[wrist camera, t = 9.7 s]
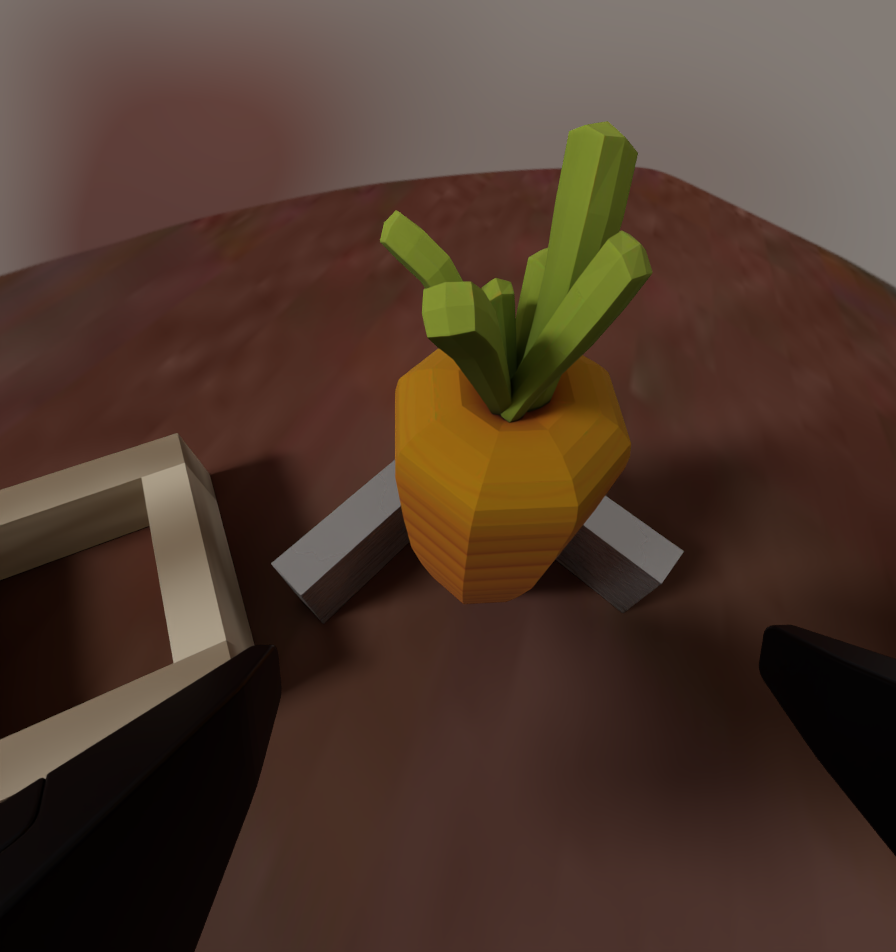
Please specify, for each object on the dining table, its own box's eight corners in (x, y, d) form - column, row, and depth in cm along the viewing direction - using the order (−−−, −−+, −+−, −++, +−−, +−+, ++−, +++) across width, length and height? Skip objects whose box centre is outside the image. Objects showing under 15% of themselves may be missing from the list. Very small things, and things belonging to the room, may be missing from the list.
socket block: (269, 700, 16) (237, 689, 13) (-258, 955, 12) (-439, 1006, 10) (209, 473, 20) (177, 433, 18) (-187, 612, 17) (-298, 585, 14)
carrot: (444, 675, 16) (467, 387, 4) (390, 555, 19) (288, 116, 6) (561, 614, 18) (897, 233, 5) (498, 508, 20) (609, 57, 7)
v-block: (649, 612, 18) (694, 582, 15) (294, 624, 17) (265, 596, 14) (600, 429, 22) (627, 378, 19) (318, 433, 22) (300, 381, 19)
